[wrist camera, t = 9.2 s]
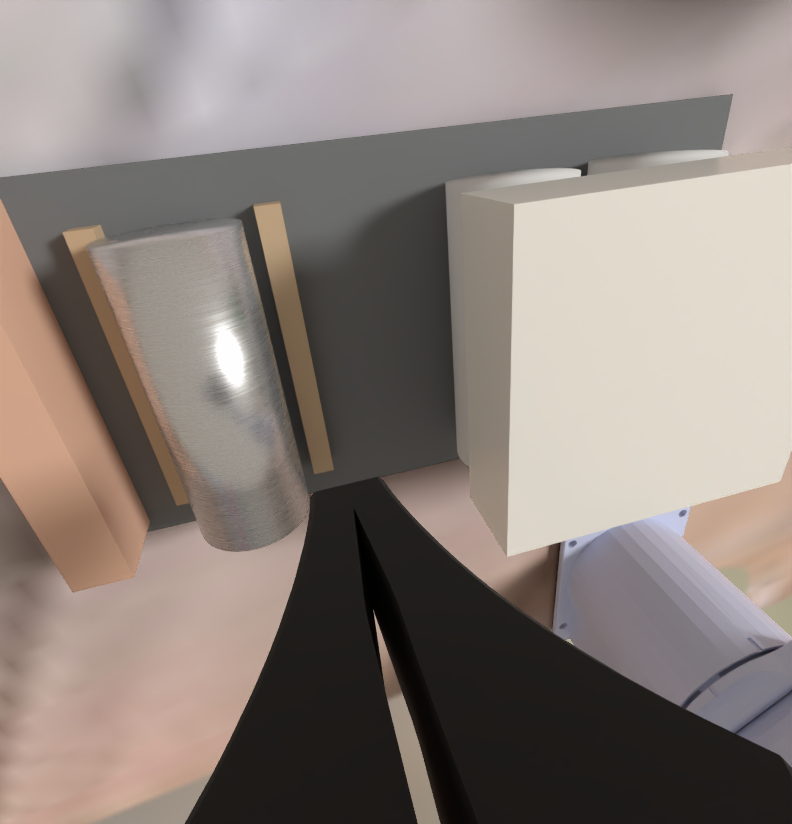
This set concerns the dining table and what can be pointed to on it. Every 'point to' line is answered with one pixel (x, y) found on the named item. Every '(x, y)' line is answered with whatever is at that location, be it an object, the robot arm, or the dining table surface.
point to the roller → (208, 374)
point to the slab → (627, 343)
